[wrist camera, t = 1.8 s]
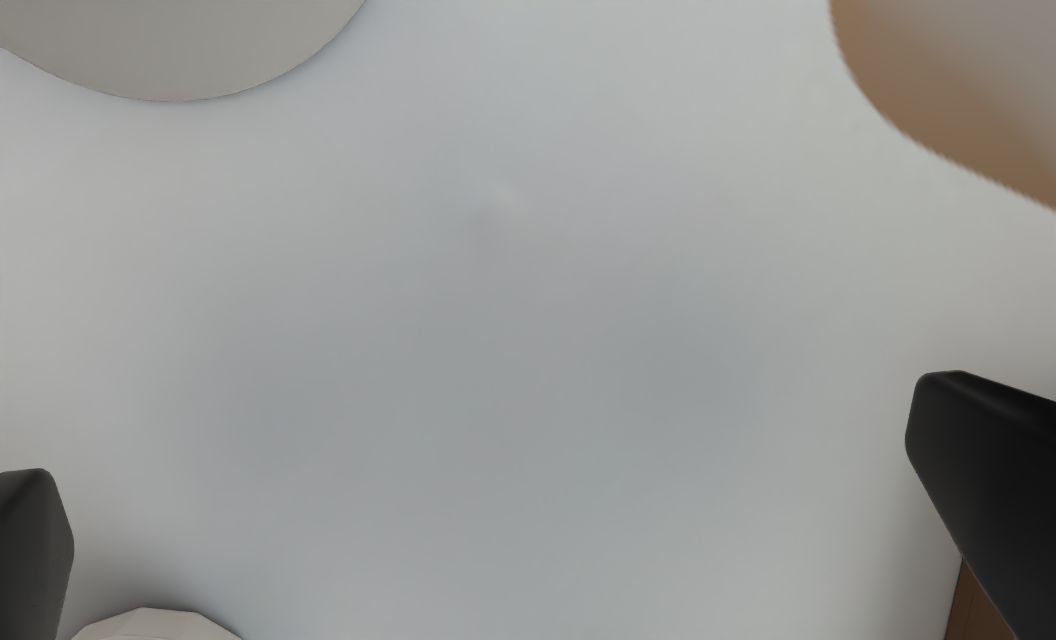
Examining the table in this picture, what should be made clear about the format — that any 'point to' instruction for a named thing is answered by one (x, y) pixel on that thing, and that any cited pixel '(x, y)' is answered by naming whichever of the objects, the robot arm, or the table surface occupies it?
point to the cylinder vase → (170, 42)
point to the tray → (975, 613)
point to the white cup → (155, 627)
